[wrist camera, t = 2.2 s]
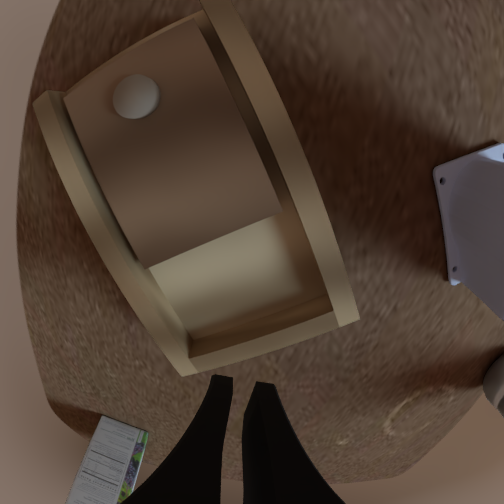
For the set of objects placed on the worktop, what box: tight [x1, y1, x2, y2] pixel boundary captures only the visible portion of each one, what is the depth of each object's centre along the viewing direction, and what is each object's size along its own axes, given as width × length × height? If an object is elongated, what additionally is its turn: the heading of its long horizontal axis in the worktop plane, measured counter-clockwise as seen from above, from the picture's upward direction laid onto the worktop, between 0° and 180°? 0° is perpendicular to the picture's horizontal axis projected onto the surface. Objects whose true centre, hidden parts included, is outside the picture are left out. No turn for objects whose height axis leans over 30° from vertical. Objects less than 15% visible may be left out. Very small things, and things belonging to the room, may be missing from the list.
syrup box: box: [65, 415, 148, 504], centre depth 21 cm, size 6×6×14 cm
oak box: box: [32, 0, 360, 377], centre depth 15 cm, size 18×11×5 cm, turn 23°
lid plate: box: [63, 18, 283, 269], centre depth 13 cm, size 10×7×2 cm
